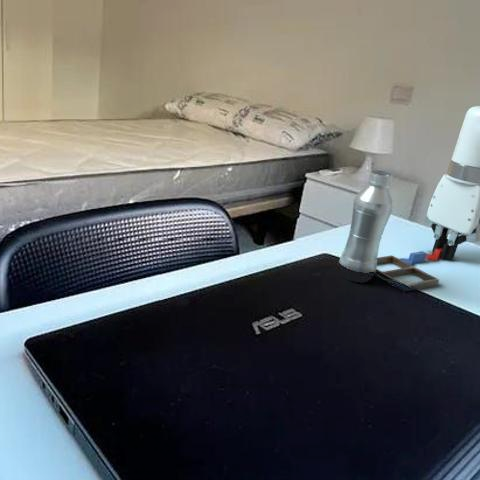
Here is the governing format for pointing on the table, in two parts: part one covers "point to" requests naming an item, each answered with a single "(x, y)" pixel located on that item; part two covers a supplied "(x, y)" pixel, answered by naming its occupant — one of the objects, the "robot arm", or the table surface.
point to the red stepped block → (434, 255)
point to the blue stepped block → (415, 257)
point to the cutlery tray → (405, 270)
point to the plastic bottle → (368, 223)
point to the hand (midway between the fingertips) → (441, 258)
